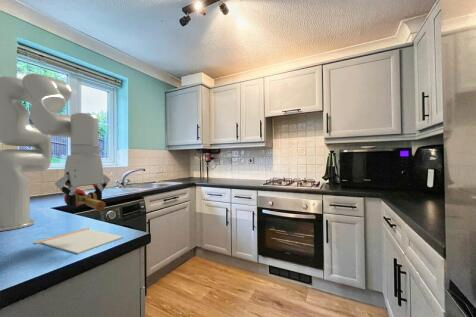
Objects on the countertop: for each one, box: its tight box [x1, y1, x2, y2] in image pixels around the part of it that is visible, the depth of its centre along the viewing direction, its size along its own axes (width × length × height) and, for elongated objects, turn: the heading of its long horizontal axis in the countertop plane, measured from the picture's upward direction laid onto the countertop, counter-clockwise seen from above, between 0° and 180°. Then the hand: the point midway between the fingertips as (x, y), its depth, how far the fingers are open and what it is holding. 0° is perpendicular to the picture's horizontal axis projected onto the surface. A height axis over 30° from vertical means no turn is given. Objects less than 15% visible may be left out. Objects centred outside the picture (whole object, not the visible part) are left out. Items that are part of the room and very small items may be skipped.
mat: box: [40, 228, 124, 255], centre depth 71 cm, size 20×14×1 cm
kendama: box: [63, 188, 107, 212], centre depth 70 cm, size 8×6×18 cm
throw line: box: [33, 227, 90, 245], centre depth 76 cm, size 2×16×1 cm, turn 155°
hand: (85, 204), depth 70 cm, fingers closed on kendama, 7 cm apart
